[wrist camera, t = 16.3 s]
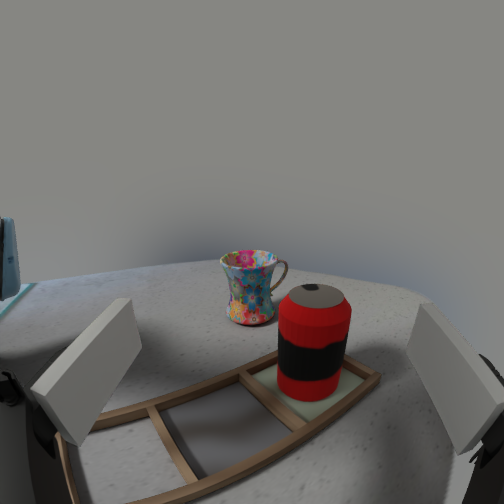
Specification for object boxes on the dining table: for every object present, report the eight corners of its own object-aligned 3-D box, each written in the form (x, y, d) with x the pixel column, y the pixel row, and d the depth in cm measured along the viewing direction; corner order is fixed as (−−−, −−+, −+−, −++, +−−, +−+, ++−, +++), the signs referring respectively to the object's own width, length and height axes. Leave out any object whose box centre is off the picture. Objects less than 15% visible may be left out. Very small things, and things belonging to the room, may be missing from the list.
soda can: (326, 359, 35) (335, 277, 31) (347, 395, 28) (366, 307, 24) (271, 367, 34) (272, 283, 30) (284, 408, 27) (289, 318, 23)
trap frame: (57, 431, 20) (51, 423, 19) (309, 341, 40) (310, 333, 39) (79, 526, 10) (70, 521, 9) (378, 383, 29) (381, 374, 29)
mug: (236, 335, 42) (232, 272, 39) (217, 310, 50) (212, 254, 47) (300, 316, 47) (303, 258, 44) (274, 296, 55) (274, 245, 52)
